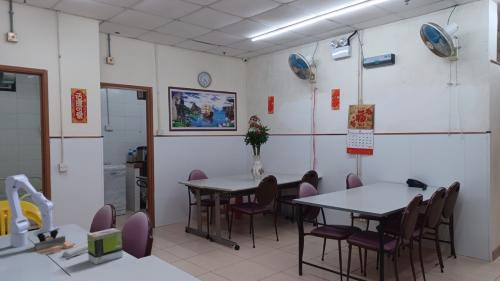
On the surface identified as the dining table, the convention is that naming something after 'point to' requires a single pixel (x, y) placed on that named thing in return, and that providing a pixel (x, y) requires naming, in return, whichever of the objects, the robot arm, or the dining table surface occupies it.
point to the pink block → (55, 249)
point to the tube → (75, 251)
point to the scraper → (49, 242)
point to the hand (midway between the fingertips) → (47, 244)
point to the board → (44, 249)
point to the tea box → (104, 245)
